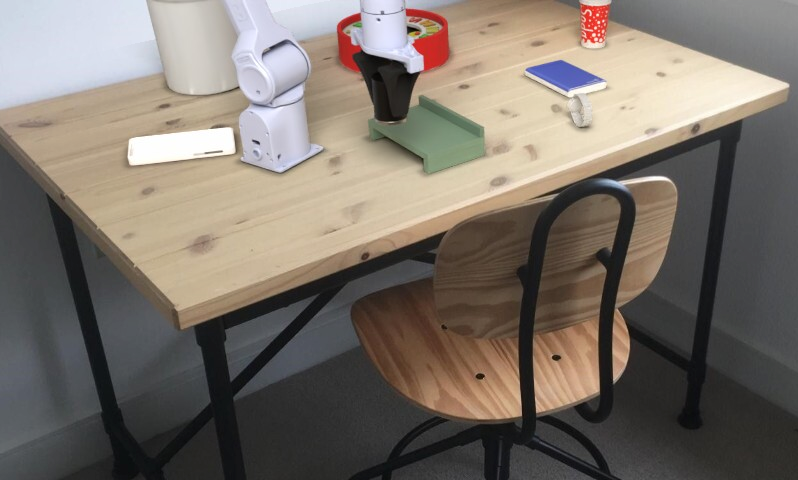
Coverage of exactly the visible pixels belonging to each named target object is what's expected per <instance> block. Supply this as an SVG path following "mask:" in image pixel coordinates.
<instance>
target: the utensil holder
mask: <svg viewBox="0 0 798 480" xmlns="http://www.w3.org/2000/svg"><path fill="white" fill-rule="evenodd" d="M145 1H146V5H147V10H148V14H149V18H150V22H151V27H152V30H153V34H154V38H155V41H156V46H157V51H158V54H159V59H160V62H161V65H162V69H163V72H164V77H165V81H166V85H167V87H168V88H169V89H170V90H171V91H173V92H174V93H177V94H182V95H187V96H188V95H189V96H208V95H209V96H210V95H216V94H220V93H221V94H222V93H224V92H228V91H231V90H234V89H236V88H238V87H239V84H238V81H237V72H236V67H235V65H234V62H233V60H232V58H231V56H232V53H233V50H234V47H235V44H236V42H237V39H238V36H237V34H236V31H235V29H234V27H233V25H232V23H231V21H230V18H229V16H228V14H227V12H226V10H225V8H224V5H223V3H222V1H221V0H145Z"/></svg>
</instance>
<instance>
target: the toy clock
mask: <svg viewBox="0 0 798 480" xmlns="http://www.w3.org/2000/svg"><path fill="white" fill-rule="evenodd" d="M405 8H406V24H407V35H410V36H412V37H414V43H413V44H412V45H413V47H414V48H415V49H416V51H417V52H418V53H419V54H421V55H423V61H424V70H423V71H421V72H420V74H421V73H425V72H429V71H432V70H434V69H437V68H440V67H441V66H442V65H444V64H445V63H446V62H447V61H448V60H449V58H450V41H449V23H448V20H447V19H446V18H445V17H444V16H443V15H440V14H438V13H436V12H432V11H429V10H424V9H417V8H407V7H405ZM361 27H362V22H361V12H358V13H353V14H351V15H349V16H346V17H344V18H343V19H341V20H340V21H339V22H338V23H337V25H336V34H337V46H338V56H339V61H340V62H339V63H340V64H341V65H342V66H343V67H344V68H346V69H347V70H349V71H353V72H355V73H359V74H361V72H360V70H359V68H358V66H357V65H356V63H355V62H354V61H353V59H352V55H353V54H354V53H358V52H361V51H360V50H362V48H361V46H360V45H353V44H352V43H351V32H350V30H352V29H356V28H361ZM391 65H392V63H391Z"/></svg>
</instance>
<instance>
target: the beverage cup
mask: <svg viewBox="0 0 798 480" xmlns="http://www.w3.org/2000/svg"><path fill="white" fill-rule="evenodd" d="M578 2H579V4H580V5H579V8H580V9H579V10H580V15H579V17H580V45H581V47H583V48H586V49H593V50H595V49H602V48H604V47H605V46H606V42H607V36H608V35H607V33H608V25H609V18H610V16H609V15H610V9H611V3H612V2H613V1H612V0H578Z"/></svg>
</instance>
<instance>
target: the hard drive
mask: <svg viewBox="0 0 798 480" xmlns="http://www.w3.org/2000/svg"><path fill="white" fill-rule="evenodd" d="M524 73H525V76H526V77H528V78H529V79H532V80H533V81H535V82H538V83H539V84H541V85H543V86H545V87H547V88H550V89H551V90H553V91H555V92H557V93H559V94H561V95H563V96H565V97H566V98H570V99H571V98H572V97H573V95H574V94H579V93H585V94H586V95H587V94H590V93H593V92H598V91H601V90H605V89H606V88H607V80H606V79H604V78H601V77H600V76H598V75H595V74H593V73H591V72H590V71H587V70H584V69H582V68H580V67H578V66H576V65H574V64H572V63H569V62H567V61H565V60H563V59H558V60H553V61H549V62H546V63H541V64H537V65H533V66H529V67H526V68H525V71H524Z"/></svg>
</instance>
